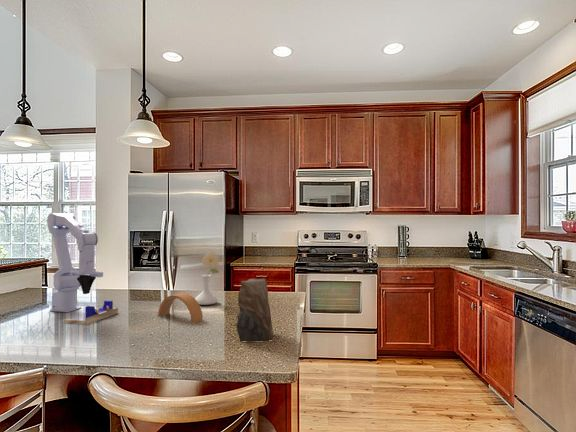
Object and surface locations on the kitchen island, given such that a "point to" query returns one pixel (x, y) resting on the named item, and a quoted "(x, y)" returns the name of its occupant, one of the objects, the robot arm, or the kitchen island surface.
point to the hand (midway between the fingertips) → (86, 293)
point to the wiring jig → (94, 316)
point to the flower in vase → (206, 295)
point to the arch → (189, 302)
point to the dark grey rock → (254, 311)
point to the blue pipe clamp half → (91, 309)
